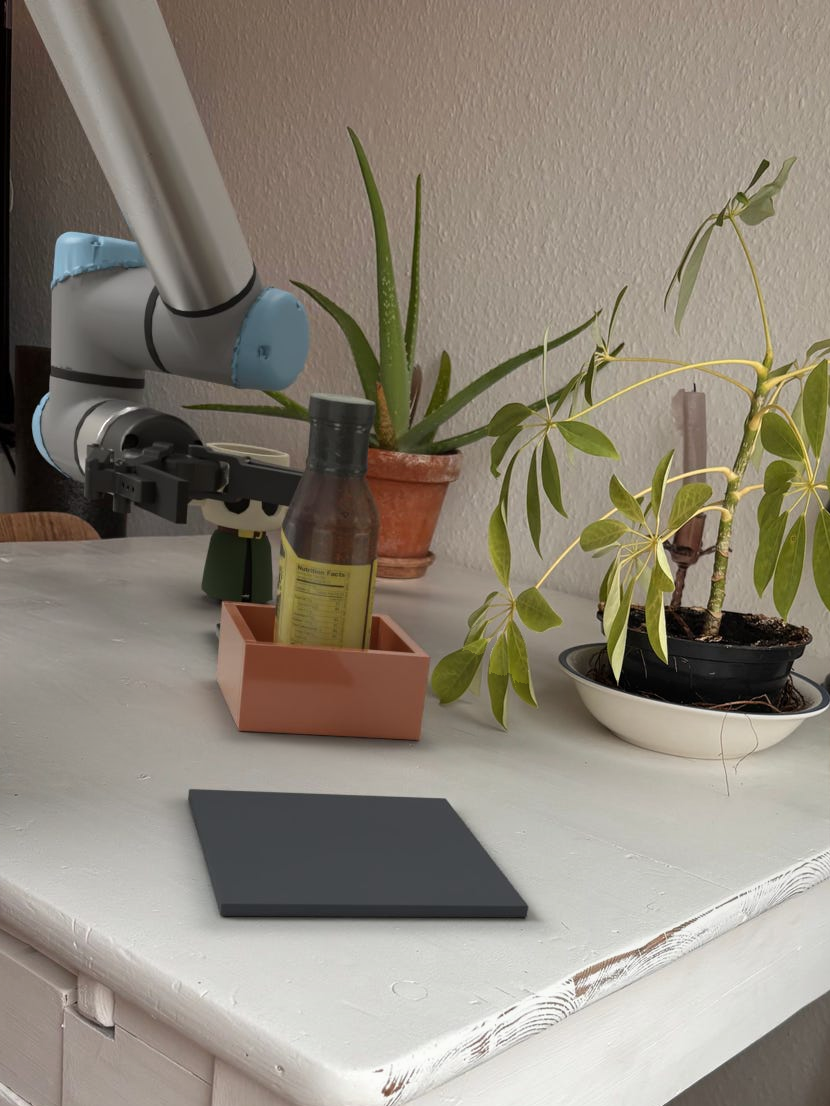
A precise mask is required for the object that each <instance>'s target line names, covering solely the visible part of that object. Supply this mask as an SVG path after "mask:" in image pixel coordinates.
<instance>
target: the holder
mask: <svg viewBox="0 0 830 1106" xmlns="http://www.w3.org/2000/svg"><path fill="white" fill-rule="evenodd" d="M220 610H221V611H220V622H219V623H220V636H219V639H218V651H217V652H218V653H217V664H216V676H215V677H216V678H215V679H216V681H217V684H218V686H219V688H220V691H221V694H222V695H223V698H224V701H225V702H226V705H227V707H228V709H229V712H230V714H231V716H232V719H233V721H234V723H235V726H236V728H237V730H238V731H239V732H256V733H275V734H292V735H313V736H330V737H331V736H333V737H353V738H369V739H370V738H372V739H373V738H374V739H388V740H389V739H391V740H409V741H419V740H420V737H421V731H422V721H423V714H424V707H425V701H426V695H427V694H426V693H427V686H428V678H429V671H430V664H431V656H430V655H429V653H426V651H425V650H424V649H422V647H420V646H419V644H417V642H416V641H415V640H413V638H411V637H410V635H408V634H407V633H406V632H405V631H404V630H403V629H402V628H401V626H399V624H397V623H396V622H395V621H394V620H393V619H392V618H391V617H390V616H389V614H382V613H372V622H371V633H370V643H369V650H366V649H352V648H339V647H326V646H312V645H299V644H286V643H273V639H274V627H275V612H276V604H265V603H251V602H243V601H241V602H233V601H226V600H221V609H220Z"/></svg>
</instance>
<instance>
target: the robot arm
mask: <svg viewBox="0 0 830 1106" xmlns="http://www.w3.org/2000/svg"><path fill="white" fill-rule="evenodd" d="M23 1H24V3H25V6H26V8H27V10H28V12H29V14H30V17H31V19H32V21H33V23H34V25H35V27H36V29H37V31H38V34H39V36H40V38H41V39H42V42H43V44H44V46H45V49H46V51H47V53H48V55H49V57H50V60H51V61H52V64H53V66H54V68H55V70H56V73H57V75H58V77H59V79H60V81H61V83H62V86H63V87H64V90H65V92H66V94H67V96H68V99H69V100H70V104H71V105H72V107H73V109H74V112H75V114H76V117H77V118H78V120H79V123H80V125H81V126H82V129H83V131H84V133H85V135H86V137H87V139H88V142H89V144H90V146H91V148H92V150H93V152H94V154H95V157H96V159H97V161H98V164H99V166H100V167H101V171H102V172H103V175H104V176H105V178H106V181H107V184H108V185H109V187H110V189H111V192H112V194H113V196H114V199H115V200H116V203H117V204H118V206H119V208H120V211H121V213H122V215H123V218H124V220H125V222H126V224H127V226H128V228H129V230H130V233H131V235H132V237H133V239H134V241H131V240H126V239H122V238H116V237H110V236H102V235H96V234H91V233H85V232H77V231H67V232H64V233H62V234H61V235H60V236H59V237H58V238H57V240H56V243H55V248H54V262H53V274H52V281H51V282H50V292H51V326H50V327H51V328H50V329H51V330H50V331H51V335H50V336H51V337H50V340H51V342H50V344H51V345H50V374H49V389H48V392H47V393H46V394H45V395H44V396H43V397H42V398H41V399H40V401H39V403H38V404H37V406H36V408H35V410H34V413H33V415H32V420H31V421H32V422H31V429H32V436H33V440H34V441H33V442H34V444H35V445H36V448H37V450H38V451H39V453H40V455H41V456H42V457H43V458H44V459H45V461H46V462H48V463H49V464H50V465H51V466H52V467H54V468H55V469H56V470H57V471H59V472H60V473H61V474H62V475H64V476H65V477H67V478H69V479H72V480H73V481H74V482H76V483H77V482H78V483H83V484H84V488H83V489H84V491H83V497H85V498H86V499H88V500H90V501H97V500H102V499H103V498H104V497H105V494H110V495H112V496H113V500H112V511H113V512H115V513H117V514H118V513H120V514H131V512H132V506H134V507H137V508H139V509H141V510H143V511H146V512H148V513H151V514H153V515H155V516H158V517H160V518H162V519H165V520H167V521H169V522H171V523H174V524H176V525H187V524H188V523H187V522H188V509H189V508H188V507H189V505H188V504H189V503H190V502H191V501H192V500H193V499H194V500H205V499H213V500H218V501H223V502H229V503H233V502H238V501H240V500H241V499H242V498H244V499H250V500H255V501H261V502H266V503H272V504H277V505H283V506H288V507H289V506H290V503H291V501H292V499H293V496H294V494H295V491H296V489H297V487H298V484H299V482H300V480H301V477H302V475H303V473H304V470H305V469H299V468H294V467H291V466H289V467H286V466H281V465H276V464H272V463H267V462H263V461H260V460H256V459H253V458H251V457H250V456H244V457H241V456H238V455H232V454H227V453H221V452H215V451H213V450H212V449H211V448H210V447H206V445H204V443H203V442H202V439H201V438H200V436H199V434H198V433H197V432H196V430H195V429H194V428H193V427H192V426H191V425H190V424H189V423H188V422H186V421H185V420H183V419H182V418H180V417H178V416H177V415H173V414H170V413H167V412H163V411H160V410H157V409H155V408H153V407H150V406H147V405H144V390H145V385H146V378H145V376H146V375H145V374H146V371H151V372H157V373H162V374H168V375H175V376H179V377H184V378H188V379H193V380H199V381H204V382H208V383H212V384H218V385H223V386H227V387H232V388H235V389H237V390H251V391H252V390H253V391H262V392H263V391H264V392H280V391H284V390H286V389H288V388H290V387H291V386H292V385H293V384H294V383H295V382H296V381H297V379H298V376H299V375H300V373H302V371H303V370H304V367H305V365H306V363H307V359H308V355H309V350H310V349H309V348H310V341H311V340H310V338H311V337H310V323H309V319H308V314H307V311H306V309H305V307H304V304H303V303H302V302H301V301H300V300H298V298H297V297H296V296H295V295H293V294H292V293H291V292H289V291H286V290H283V289H279V288H277V286H273V285H268V286H265V285H264V284H263V282H262V280H261V277H260V275H259V274H260V273H259V272H258V269H257V267H256V265H255V262H254V260H253V257H252V254H251V252H250V249H249V246H248V244H247V241H246V238H245V236H244V234H243V230H242V227H241V224H240V222H239V219H238V217H237V214H236V211H235V209H234V207H233V203H232V201H231V198H230V195H229V193H228V189H227V187H226V184H225V182H224V180H223V179H224V178H223V176H222V173H221V171H220V168H219V165H218V163H217V160H216V157H215V155H214V151H213V150H212V146H211V144H210V142H209V138H208V136H207V134H206V131H205V128H204V125H203V123H202V120H201V117H200V114H199V111H198V108H197V106H196V103H195V100H194V98H193V95H192V93H191V91H190V88H189V84H188V82H187V79H186V77H185V74H184V71H183V69H182V66H181V62H180V60H179V58H178V55H177V52H176V49H175V47H174V44H173V42H172V39H171V36H170V33H169V31H168V29H167V26H166V22H165V20H164V18H163V17H164V16H163V14H162V12H161V9H160V6H159V4H158V1H157V0H23ZM227 463H228V464H229V466H228V464H227ZM227 480H228V491H227V493H224V492H218V490H219V489H221V488H222V487H224V486H225V485H226V483H227Z"/></svg>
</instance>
